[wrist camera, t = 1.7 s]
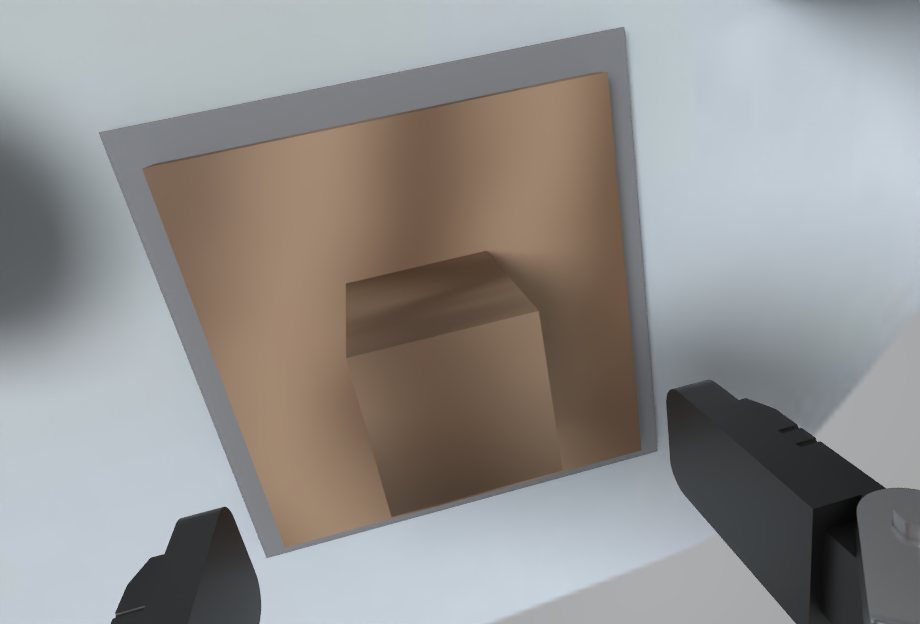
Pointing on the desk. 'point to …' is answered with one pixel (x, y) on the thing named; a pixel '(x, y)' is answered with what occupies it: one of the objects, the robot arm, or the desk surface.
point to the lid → (414, 301)
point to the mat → (355, 104)
